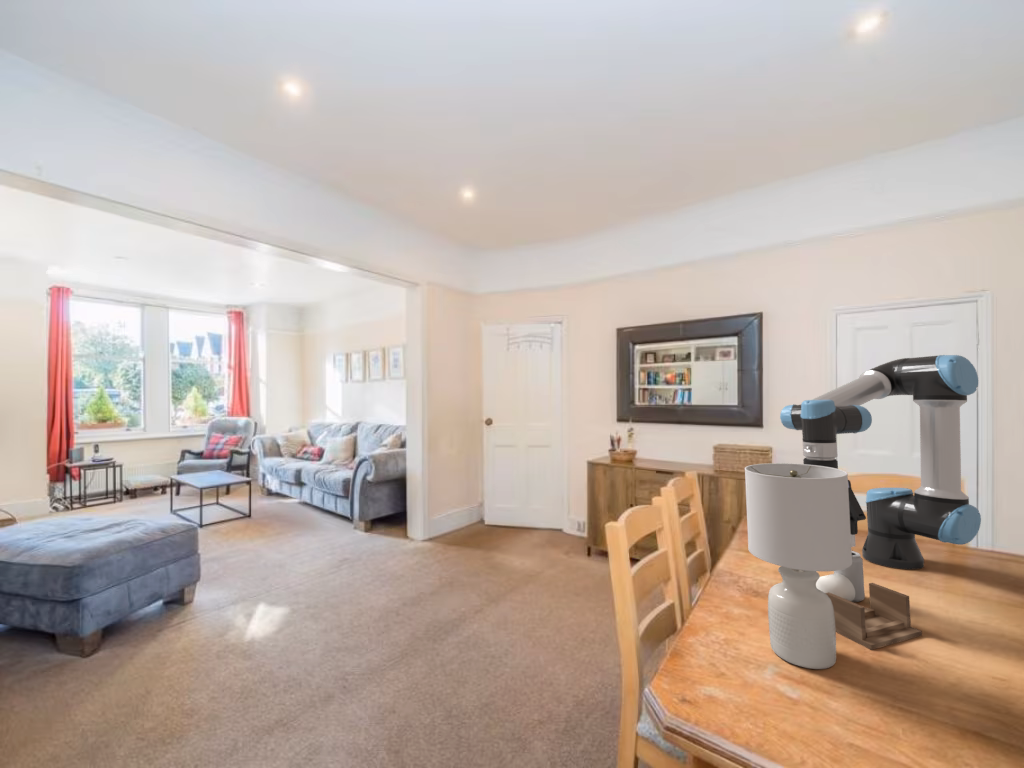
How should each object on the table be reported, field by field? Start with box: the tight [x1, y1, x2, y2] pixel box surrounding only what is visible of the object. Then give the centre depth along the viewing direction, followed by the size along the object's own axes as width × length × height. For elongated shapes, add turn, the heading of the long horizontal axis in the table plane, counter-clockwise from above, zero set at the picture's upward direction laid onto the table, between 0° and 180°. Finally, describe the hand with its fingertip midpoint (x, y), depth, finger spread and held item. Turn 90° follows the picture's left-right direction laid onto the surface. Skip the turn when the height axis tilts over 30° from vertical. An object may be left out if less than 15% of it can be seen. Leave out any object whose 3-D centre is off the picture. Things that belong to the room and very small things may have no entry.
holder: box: [826, 582, 923, 650], centre depth 105 cm, size 16×12×8 cm
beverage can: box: [833, 550, 866, 603], centre depth 121 cm, size 6×6×12 cm
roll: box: [816, 573, 855, 602], centre depth 118 cm, size 9×7×7 cm
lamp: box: [744, 462, 853, 670], centre depth 97 cm, size 19×19×39 cm
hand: (824, 538), depth 119 cm, fingers open, 13 cm apart
